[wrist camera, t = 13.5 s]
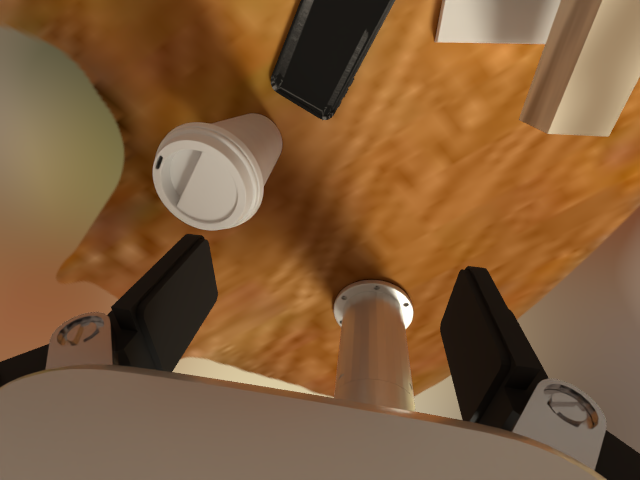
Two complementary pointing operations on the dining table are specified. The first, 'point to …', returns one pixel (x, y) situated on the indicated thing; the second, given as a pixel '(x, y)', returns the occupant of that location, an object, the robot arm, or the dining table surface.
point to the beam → (586, 68)
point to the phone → (326, 51)
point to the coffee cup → (216, 169)
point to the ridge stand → (496, 21)
